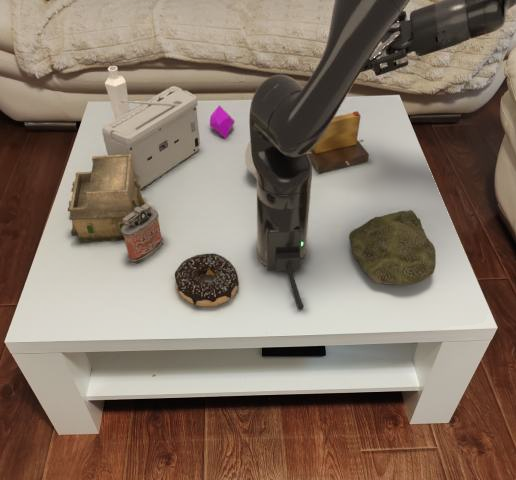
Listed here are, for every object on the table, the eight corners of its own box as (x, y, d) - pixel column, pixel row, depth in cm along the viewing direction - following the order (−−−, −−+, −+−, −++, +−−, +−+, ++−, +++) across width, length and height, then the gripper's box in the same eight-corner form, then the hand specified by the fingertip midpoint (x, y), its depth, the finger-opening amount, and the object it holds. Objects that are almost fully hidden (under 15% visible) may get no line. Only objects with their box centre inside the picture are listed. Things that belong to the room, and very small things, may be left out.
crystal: (207, 131, 133) (205, 113, 130) (221, 121, 136) (220, 103, 132) (224, 139, 131) (223, 121, 128) (238, 129, 134) (238, 111, 130)
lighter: (155, 236, 112) (146, 195, 104) (167, 243, 110) (159, 202, 102) (124, 258, 108) (113, 217, 100) (137, 266, 107) (126, 225, 99)
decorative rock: (353, 299, 103) (355, 263, 95) (347, 236, 112) (348, 198, 104) (437, 294, 102) (446, 257, 94) (424, 231, 111) (431, 191, 102)
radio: (179, 137, 132) (168, 50, 116) (205, 150, 129) (197, 62, 113) (112, 180, 122) (89, 92, 106) (138, 196, 119) (119, 107, 103)
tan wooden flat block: (315, 153, 124) (318, 123, 119) (312, 150, 125) (315, 119, 120) (356, 144, 127) (361, 114, 121) (353, 140, 127) (357, 110, 122)
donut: (209, 255, 108) (208, 240, 105) (252, 288, 103) (251, 272, 100) (164, 285, 104) (161, 270, 101) (206, 321, 99) (204, 306, 95)
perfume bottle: (113, 128, 134) (99, 65, 122) (131, 124, 136) (118, 61, 124) (119, 138, 132) (104, 75, 120) (137, 134, 133) (124, 71, 121)
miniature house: (150, 194, 120) (141, 146, 110) (147, 239, 111) (137, 192, 102) (78, 198, 119) (63, 150, 110) (70, 244, 110) (53, 196, 101)
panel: (317, 180, 122) (318, 172, 120) (292, 144, 130) (292, 136, 128) (376, 166, 125) (378, 157, 123) (348, 132, 133) (349, 123, 131)
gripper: (435, -17, 101) (347, 15, 107) (438, 28, 93) (343, 59, 100) (442, 23, 106) (358, 51, 113) (445, 68, 99) (354, 95, 106)
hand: (351, 55), depth 106 cm, fingers open, 8 cm apart
